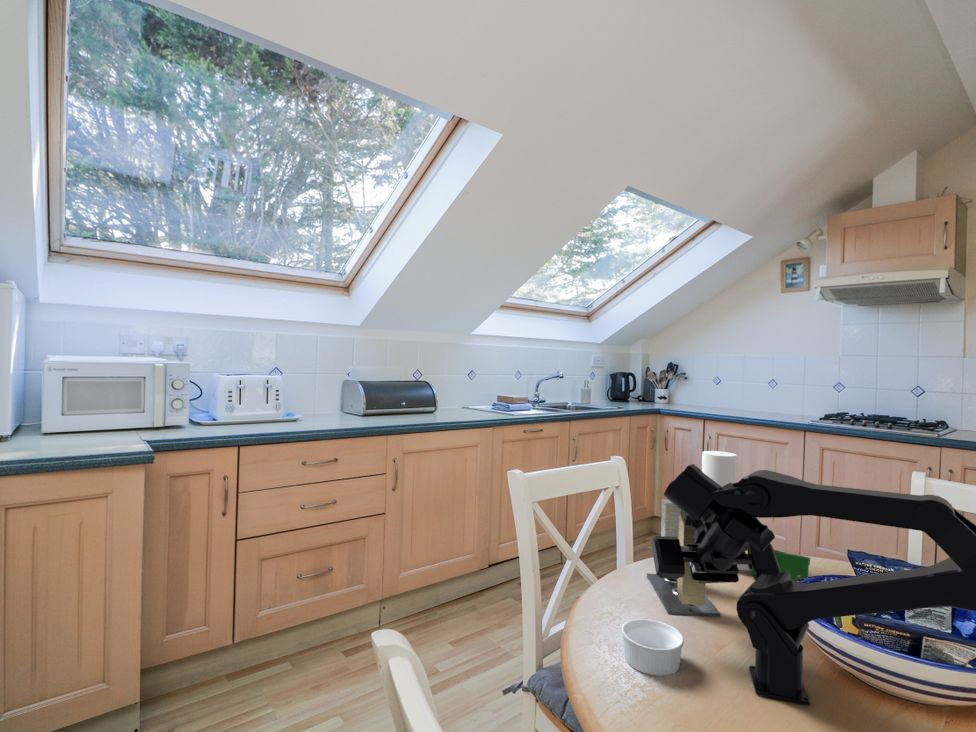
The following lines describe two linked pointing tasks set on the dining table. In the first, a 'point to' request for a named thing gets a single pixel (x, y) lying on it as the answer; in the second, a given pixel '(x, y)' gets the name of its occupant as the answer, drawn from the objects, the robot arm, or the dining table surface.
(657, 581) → the bolt plate
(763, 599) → the robot arm
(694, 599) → the sliding leg
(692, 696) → the dining table surface
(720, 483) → the cylindrical container
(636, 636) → the ramekin
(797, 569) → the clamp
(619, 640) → the dining table surface
